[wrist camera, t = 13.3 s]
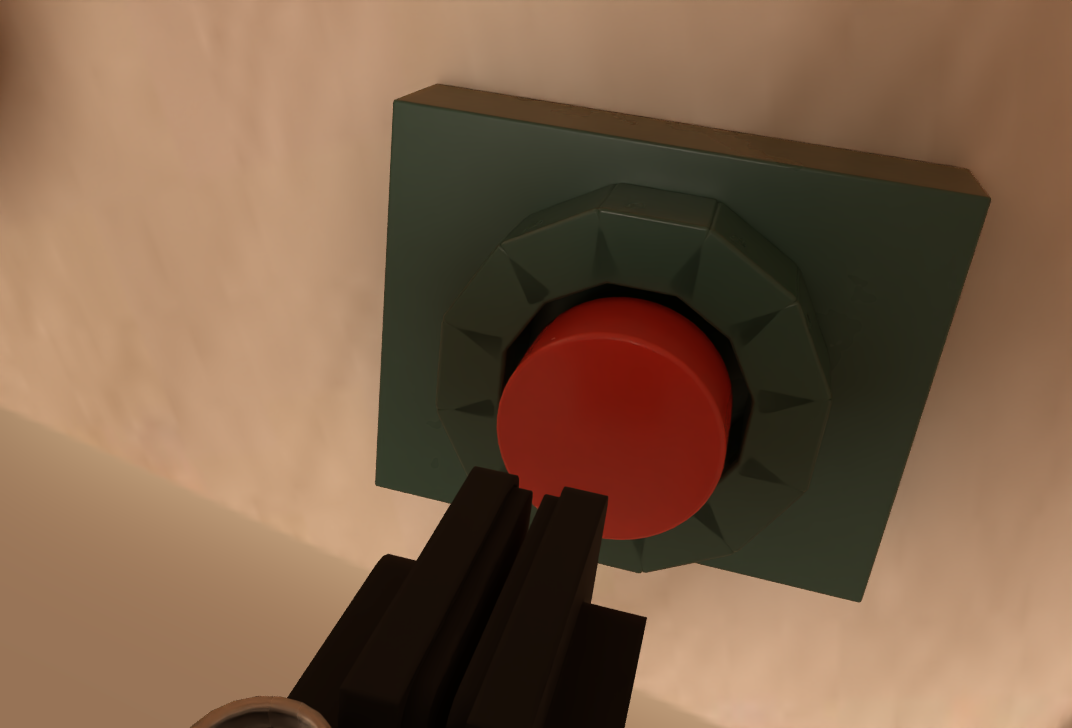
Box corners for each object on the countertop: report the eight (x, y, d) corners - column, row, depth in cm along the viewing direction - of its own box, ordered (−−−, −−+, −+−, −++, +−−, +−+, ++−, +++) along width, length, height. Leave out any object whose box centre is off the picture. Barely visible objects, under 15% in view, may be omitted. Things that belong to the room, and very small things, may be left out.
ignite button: (753, 318, 15) (748, 360, 14) (710, 508, 17) (701, 565, 15) (535, 276, 16) (506, 312, 14) (512, 462, 17) (485, 512, 16)
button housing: (970, 168, 17) (1016, 228, 13) (855, 540, 20) (867, 667, 17) (434, 83, 19) (348, 115, 15) (411, 438, 22) (337, 533, 18)
